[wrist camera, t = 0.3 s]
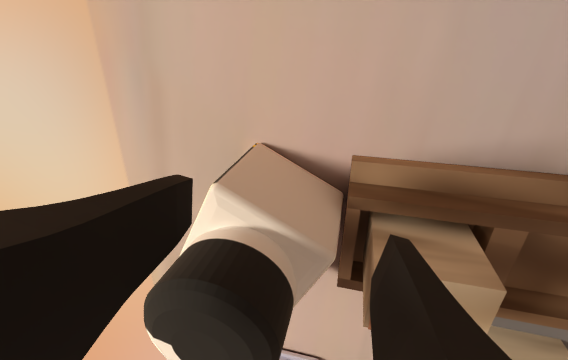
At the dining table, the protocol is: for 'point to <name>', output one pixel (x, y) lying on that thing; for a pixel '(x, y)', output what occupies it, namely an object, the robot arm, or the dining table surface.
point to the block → (438, 262)
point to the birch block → (528, 345)
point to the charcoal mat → (532, 329)
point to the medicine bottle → (246, 262)
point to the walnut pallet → (473, 225)
